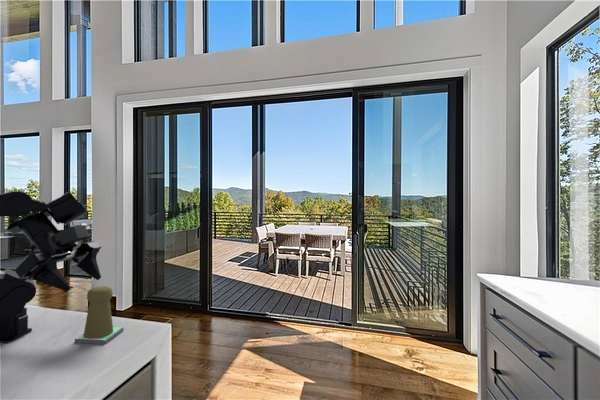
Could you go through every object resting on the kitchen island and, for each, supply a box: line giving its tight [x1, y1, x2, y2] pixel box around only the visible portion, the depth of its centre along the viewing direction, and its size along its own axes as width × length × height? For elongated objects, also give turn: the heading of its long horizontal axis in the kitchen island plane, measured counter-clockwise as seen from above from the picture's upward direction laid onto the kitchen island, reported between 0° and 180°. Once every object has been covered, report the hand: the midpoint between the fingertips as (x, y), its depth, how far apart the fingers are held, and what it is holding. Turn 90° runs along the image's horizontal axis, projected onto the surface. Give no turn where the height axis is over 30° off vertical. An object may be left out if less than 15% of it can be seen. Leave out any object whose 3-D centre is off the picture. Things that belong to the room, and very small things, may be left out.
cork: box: [83, 285, 114, 339], centre depth 75 cm, size 6×6×11 cm
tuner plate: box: [74, 326, 124, 345], centre depth 76 cm, size 7×7×1 cm
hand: (85, 284), depth 76 cm, fingers open, 9 cm apart
